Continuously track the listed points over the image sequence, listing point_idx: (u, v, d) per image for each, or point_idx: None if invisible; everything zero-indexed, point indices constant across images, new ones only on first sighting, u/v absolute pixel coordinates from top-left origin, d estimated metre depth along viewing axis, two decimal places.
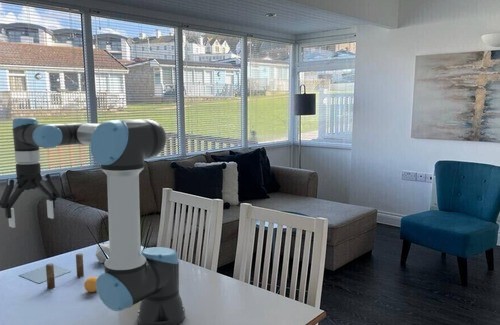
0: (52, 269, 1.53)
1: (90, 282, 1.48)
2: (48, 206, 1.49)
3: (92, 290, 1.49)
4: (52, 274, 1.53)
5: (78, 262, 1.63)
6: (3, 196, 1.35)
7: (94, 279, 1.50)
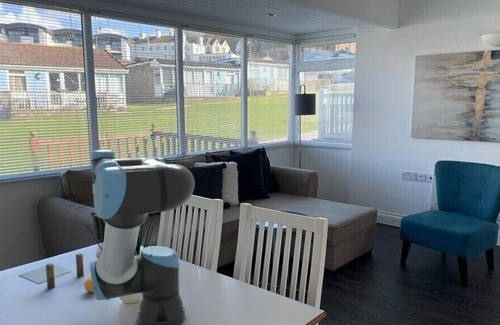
0: (52, 269, 1.53)
1: (90, 282, 1.48)
2: None
3: (92, 290, 1.49)
4: (52, 274, 1.53)
5: (78, 262, 1.63)
6: None
7: None
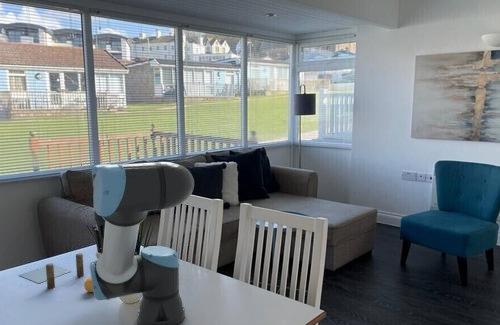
0: (52, 269, 1.53)
1: (90, 282, 1.48)
2: None
3: (92, 290, 1.49)
4: (52, 274, 1.53)
5: (78, 262, 1.63)
6: None
7: None
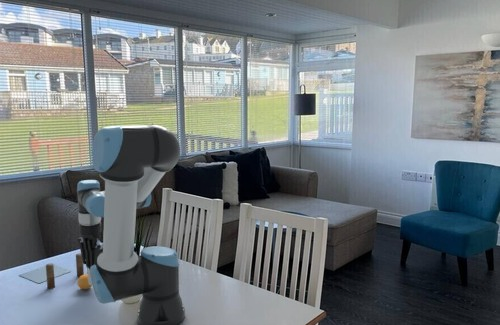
0: (52, 269, 1.53)
1: (79, 278, 1.52)
2: None
3: (85, 280, 1.51)
4: (52, 274, 1.53)
5: (78, 262, 1.63)
6: None
7: None
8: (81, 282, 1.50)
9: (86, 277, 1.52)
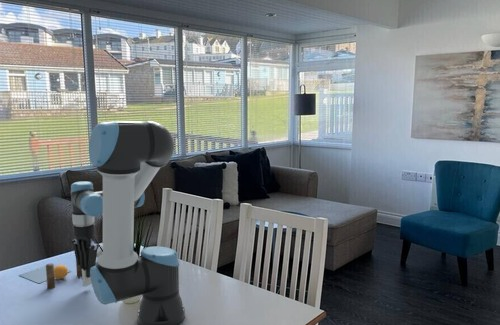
0: (52, 269, 1.53)
1: (55, 268, 1.61)
2: None
3: (60, 272, 1.60)
4: (52, 274, 1.53)
5: None
6: None
7: (58, 265, 1.62)
8: (56, 273, 1.59)
9: (62, 269, 1.60)
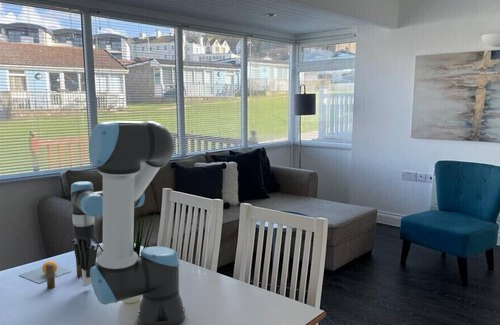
0: (52, 269, 1.53)
1: (45, 273, 1.65)
2: None
3: None
4: (52, 274, 1.53)
5: None
6: None
7: None
8: (42, 268, 1.65)
9: None
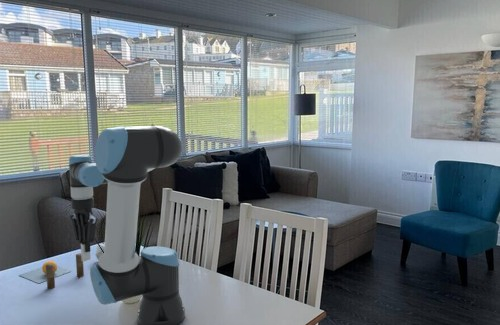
0: (52, 269, 1.53)
1: (45, 273, 1.65)
2: None
3: None
4: (52, 274, 1.53)
5: (78, 262, 1.63)
6: None
7: None
8: (42, 268, 1.65)
9: None
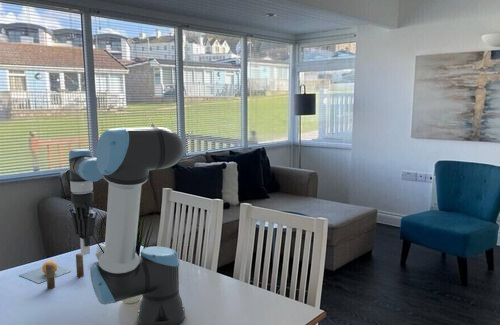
0: (52, 269, 1.53)
1: (45, 273, 1.65)
2: None
3: None
4: (52, 274, 1.53)
5: (78, 262, 1.63)
6: None
7: None
8: (42, 268, 1.65)
9: None
